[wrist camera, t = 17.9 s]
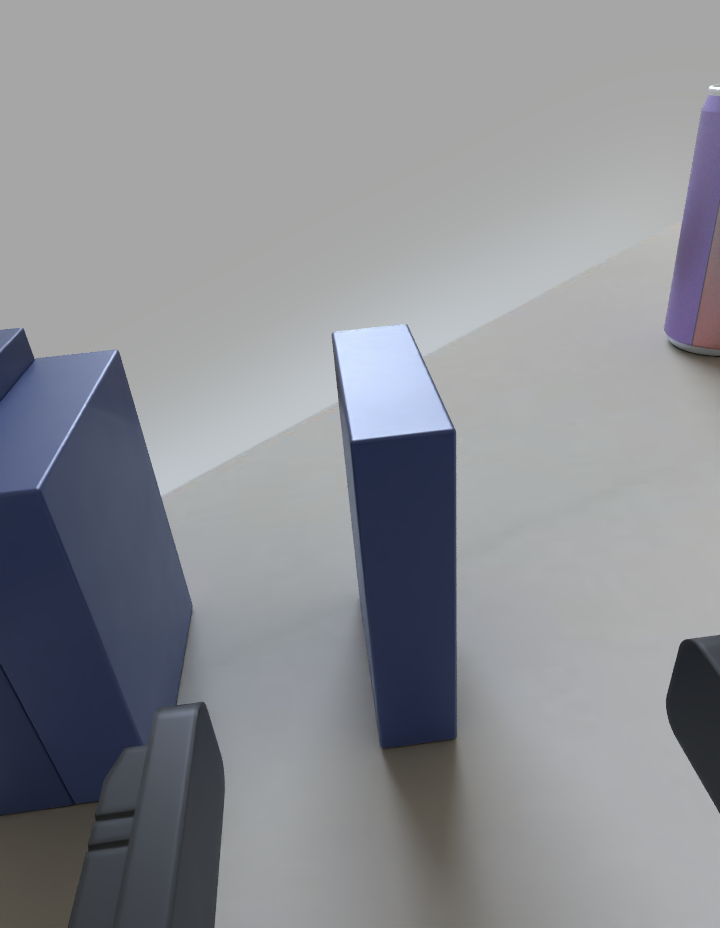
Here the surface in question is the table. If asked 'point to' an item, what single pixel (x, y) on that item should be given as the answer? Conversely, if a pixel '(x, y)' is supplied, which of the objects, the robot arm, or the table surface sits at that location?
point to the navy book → (401, 529)
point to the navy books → (79, 578)
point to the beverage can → (699, 245)
